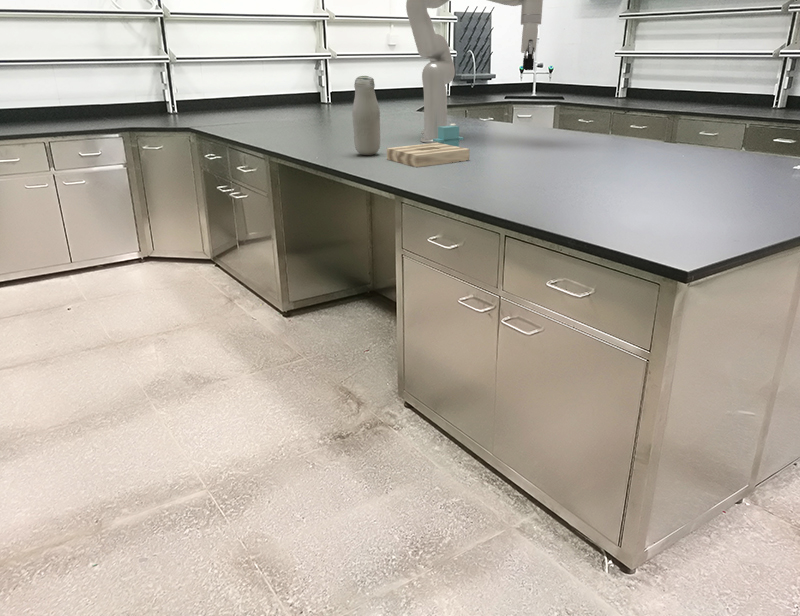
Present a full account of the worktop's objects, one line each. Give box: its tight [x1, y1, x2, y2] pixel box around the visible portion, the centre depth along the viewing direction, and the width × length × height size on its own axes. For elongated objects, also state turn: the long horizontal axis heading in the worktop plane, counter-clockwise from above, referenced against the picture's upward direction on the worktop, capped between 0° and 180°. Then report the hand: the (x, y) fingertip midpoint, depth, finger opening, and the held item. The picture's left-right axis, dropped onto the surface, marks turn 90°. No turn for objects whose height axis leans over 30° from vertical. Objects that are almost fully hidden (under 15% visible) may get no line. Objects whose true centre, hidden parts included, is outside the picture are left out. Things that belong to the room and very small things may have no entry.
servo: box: [433, 123, 465, 147], centre depth 240 cm, size 4×12×10 cm, turn 121°
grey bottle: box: [351, 75, 381, 156], centre depth 231 cm, size 10×10×28 cm
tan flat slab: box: [386, 143, 471, 168], centre depth 223 cm, size 20×22×4 cm
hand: (527, 69), depth 239 cm, fingers open, 9 cm apart
